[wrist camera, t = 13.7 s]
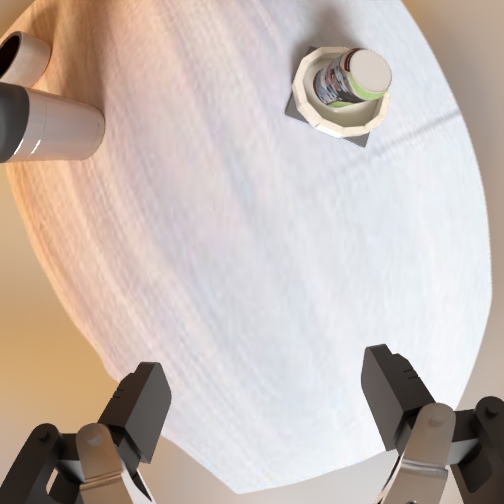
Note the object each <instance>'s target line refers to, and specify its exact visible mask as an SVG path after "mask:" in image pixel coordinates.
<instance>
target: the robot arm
mask: <svg viewBox="0 0 504 504" xmlns="http://www.w3.org/2000/svg"><path fill="white" fill-rule="evenodd" d="M104 130H105V123H104V118H103V115H102V113H101V112H100V110H98V109H97V108H96V107H94V106H91V105H88V104H85V103H82V102H79V101H75V100H72V99H69V98H65V97H62V96H58V95H55V94H51V93H48V92H44V91H40V90H36V89H32V88H28V87H24V86H20V85H15V84H9V83H4V82H0V163H10V162H24V161H50V160H83V159H86V158H88V157H90V156H91V155H92V154H93V153H94V152H95V151H96V150H97V149H98V147H99V145H100V144H101V141H102V139H103V135H104ZM361 386H362V390H363V393H364V395H365V397H366V400H367V402H368V405H369V407H370V410H371V412H372V415H373V417H374V420H375V422H376V425H377V427H378V430H379V433H380V435H381V438H382V440H383V443H384V446H385V448H386V451H390V450H393V449H397V451H398V454H399V455H398V457H397V459H396V461H395V463H394V466H393V467H392V470H391V472H390V474H389V476H388V478H387V480H386V482H385V484H384V486H383V488H382V490H381V492H380V494H379V495H378V497H377V499H376V500H375V502H374V504H439V502H440V499H441V496H442V493H443V490H444V487H445V484H446V481H447V477H448V470H446V469H445V466H446V465H450V467H451V470H452V472H453V475H454V478H455V480H456V483H457V485H458V488H459V491H460V494H461V496H462V499H463V502H464V504H504V402H503V401H502V400H501V399H499V398H497V397H493V396H488V397H484V398H482V399H481V400H480V401H479V402H478V403H477V405H476V407H475V409H470V410H463V411H453V409H452V408H451V407H449V406H448V405H446V404H443V403H436V402H435V400H434V399H433V397H432V396H431V394H430V392H429V391H428V389H427V388H426V386H425V385H424V383H423V382H422V380H421V379H420V377H418V374H417V373H416V371H415V370H413V367H412V365H411V364H410V362H409V361H408V360H407V359H406V358H404V357H403V356H401V355H400V354H398V353H397V354H393V355H392V353H391V351H390V350H389V348H388V347H387V345H386V344H380V345H375V346H370V347H366V349H365V353H364V360H363V367H362V373H361ZM170 404H171V390H170V387H169V385H168V382H167V379H166V377H165V374H164V371H163V368H162V366H161V364H160V363H158V362H141V363H140V364H139V365H138V367H137V369H136V371H135V372H134V373H130V374H129V375H127V376H126V377H125V378H124V379H123V380H122V381H121V382H120V384H119V386H118V387H117V391H115V392H114V394H113V398H111V400H110V401H109V403H108V404H107V406H106V408H105V410H104V411H103V413H102V415H101V417H100V418H99V420H98V422H97V423H91V424H88V425H85V426H83V427H82V428H81V429H80V430H79V431H78V433H74V434H63V433H60V432H59V431H58V429H57V428H56V427H55V426H54V425H52V424H49V423H46V424H41V425H39V426H37V427H36V428H35V429H34V430H33V431H32V433H31V434H30V436H29V437H28V439H27V441H26V442H25V444H24V446H23V447H22V449H21V451H20V452H19V454H18V456H17V458H16V460H15V461H14V463H13V465H12V467H11V468H10V470H9V472H8V474H7V476H6V478H5V480H4V481H3V484H2V485H1V487H0V504H156V502H155V500H154V498H153V497H152V495H151V493H150V491H149V489H148V487H147V485H146V483H145V481H144V479H143V477H142V475H141V474H140V471H139V470H138V468H137V467H138V465H139V462H143V463H148V464H150V462H151V459H152V456H153V453H154V450H155V447H156V445H157V442H158V439H159V436H160V433H161V430H162V427H163V424H164V421H165V418H166V415H167V413H168V410H169V407H170ZM54 468H55V469H56V470H57V471H58V474H57V476H56V479H55V481H54V483H53V485H52V487H51V490H50V492H49V494H47V491H46V485H47V483H48V481H49V479H50V476H51V474H52V472H53V470H54Z"/></svg>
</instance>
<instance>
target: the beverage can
mask: <svg viewBox="0 0 504 504" xmlns="http://www.w3.org/2000/svg"><path fill="white" fill-rule="evenodd" d="M391 81H392V73H391V69H390V67H389V65H388V63H387V62H386V60H385V59H384V58H383V57H382V56H381V55H379V54H378V53H376V52H374V51H372V50H367V49H362V48H355V49H351V50H349V51H347V52H346V53H344V54H343V55H341V56H340V57H338V58H337V59H335V60H334V61H332V62H331V63H329V64H328V65H326V66H325V67H324V68H322V69H321V70H319V71H318V72H317V73H316V75H315V77H314V80H313V88H314V92H315V94H316V96H317V97H318V98H319V100H320V101H321V102H323V103H324V104H325V105H327V106H330V107H333V108H341V107H345V106H349V105H353V104H357V103H362V102H366V101H370V100H375V99H378V98H380V97H382V96H383V95H384V94H385V93H386V92H387V90H388V88H389V87H390V85H391Z"/></svg>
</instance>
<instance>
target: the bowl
mask: <svg viewBox="0 0 504 504" xmlns="http://www.w3.org/2000/svg"><path fill="white" fill-rule="evenodd" d="M349 50H351V49H349V48H347V47H345V48H344V47H321V48H318V49H317V50H315V51H314V52H312V53H310V54H309V55H307V56H306V57H304V58H303V59H302V60H301V63H300V65H299V68H298V71H297V73H296V76H295V79H294V81H293V84H292V91H293V95H294V99H295V103H296V107H297V109H298V111H299V112H300V113H301V114H302V115H303V116H304V118H305V119H306V120H307V121H308V122H309V123H310V124H311V126H312V127H313V128H314V127H315V129H317V130H319V131H322V132H324V133H327V134H329V135H331V136H334V137H336V138H337V137H338V138H342V137H352V136H360V135H363V134H366V133H369V132H370V131H371V130H372V129H374V128H375V127H376V126H377V125H379V124H380V123H381V122H382V121H384V119H385V117H386V113H387V110H388V106H389V102H390V95H389V91H388V90H387V92H386V93H385V94H384V95H383V96H382V97H380V98H378V99H375V100H370V101H366V102H362V103H357V104H353V105H349V106H345V107H341V108H333V107H330V106H327V105H325V104H324V103H323V102H321V101H320V100H319V98H318V97H317V96H316V94H315V92H314V88H313V80H314V77H315V75H316V73H317V72H318V71H319V70H321V69H322V68H324V67H325V66H326V65H328V64H329V63H331V62H332V61H334V60H335V59H337V58H338V57H340V56H341V55H343V54H344V53H346V52H347V51H349Z"/></svg>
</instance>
